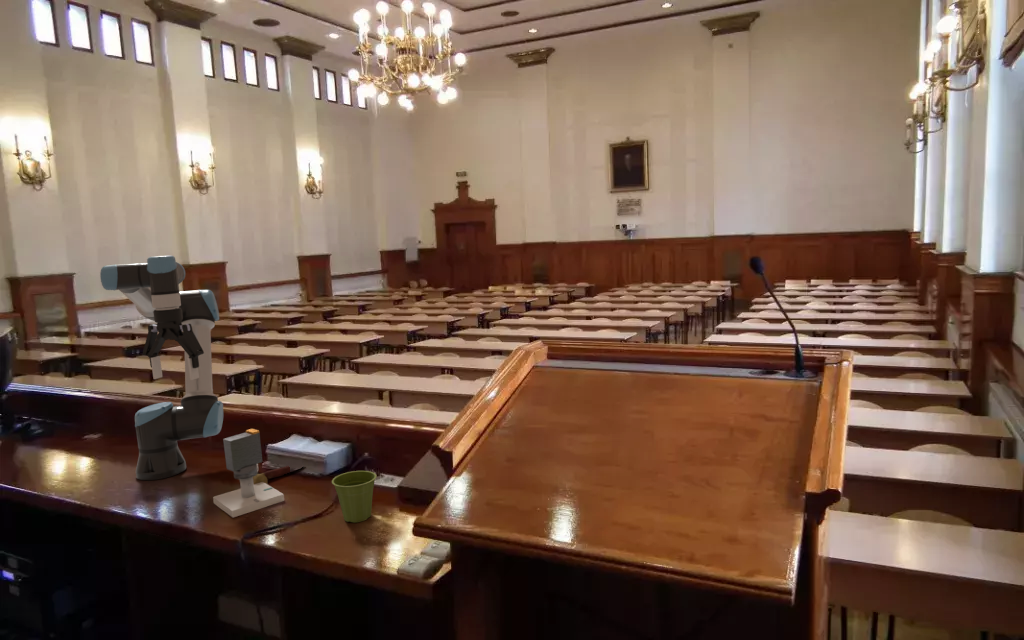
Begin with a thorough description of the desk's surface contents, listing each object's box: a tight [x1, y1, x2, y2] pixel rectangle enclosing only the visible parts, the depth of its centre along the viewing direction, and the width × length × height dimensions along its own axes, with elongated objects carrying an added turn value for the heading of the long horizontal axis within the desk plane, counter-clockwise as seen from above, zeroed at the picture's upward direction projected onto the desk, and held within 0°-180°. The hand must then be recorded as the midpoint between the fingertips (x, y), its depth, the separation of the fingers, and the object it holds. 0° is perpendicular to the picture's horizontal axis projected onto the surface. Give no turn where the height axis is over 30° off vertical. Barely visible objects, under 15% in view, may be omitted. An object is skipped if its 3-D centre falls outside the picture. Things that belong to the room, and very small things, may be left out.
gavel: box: [238, 465, 290, 485], centre depth 214 cm, size 21×5×10 cm
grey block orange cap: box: [222, 428, 264, 480], centre depth 192 cm, size 9×6×13 cm
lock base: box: [212, 477, 285, 518], centre depth 194 cm, size 15×15×8 cm
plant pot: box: [331, 470, 378, 524], centre depth 179 cm, size 12×12×11 cm
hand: (176, 378), depth 197 cm, fingers open, 13 cm apart
